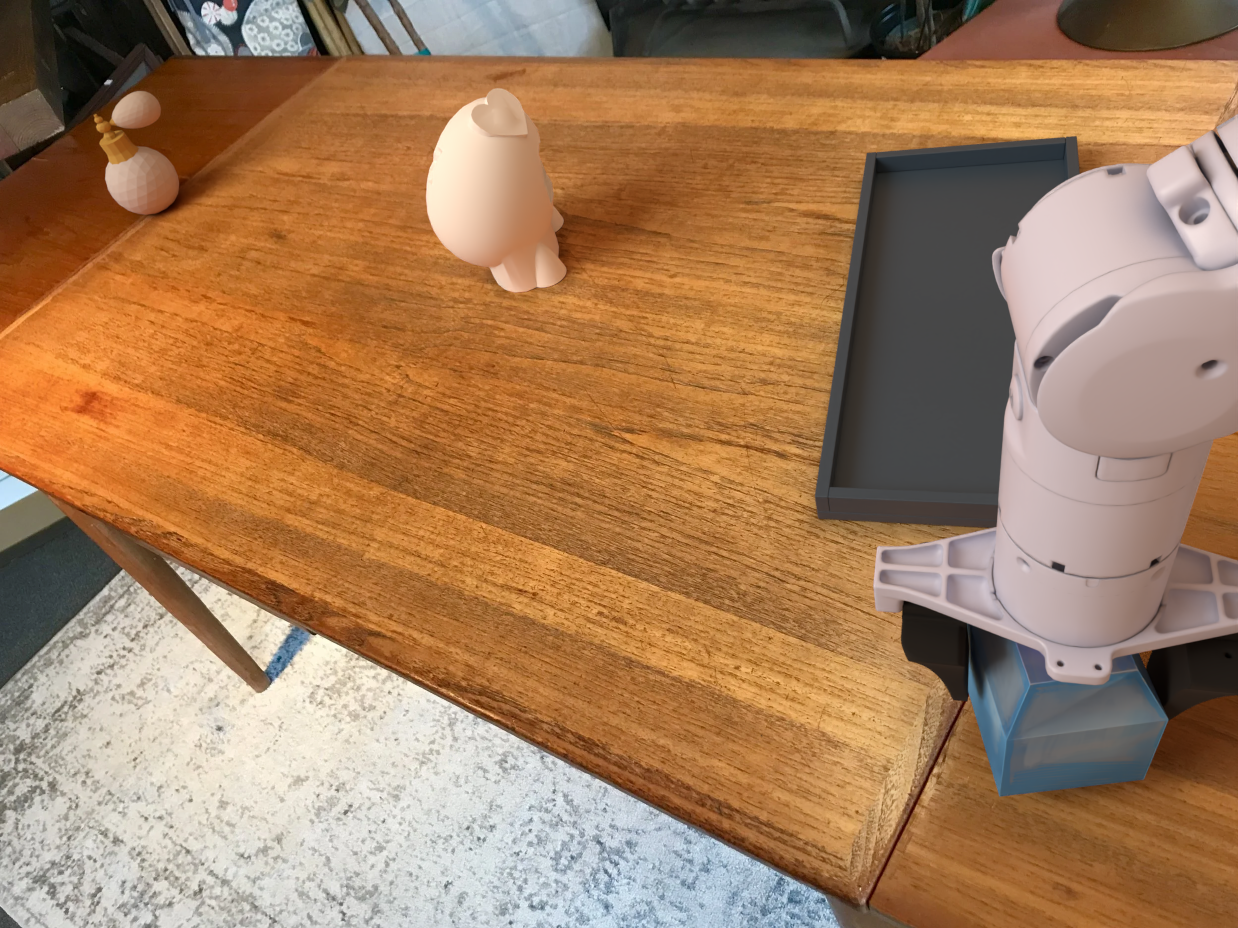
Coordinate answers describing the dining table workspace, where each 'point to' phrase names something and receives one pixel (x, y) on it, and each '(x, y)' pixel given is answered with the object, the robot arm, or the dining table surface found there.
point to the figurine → (496, 194)
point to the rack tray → (929, 333)
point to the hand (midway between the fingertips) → (1053, 690)
